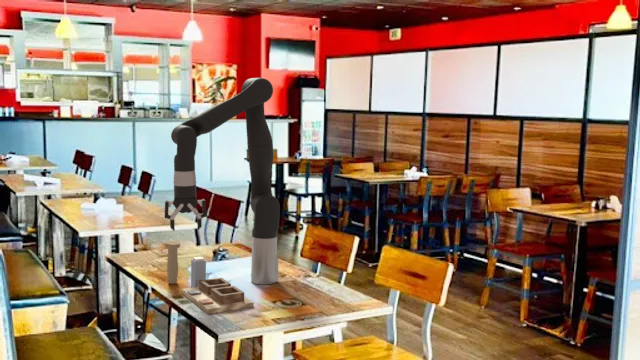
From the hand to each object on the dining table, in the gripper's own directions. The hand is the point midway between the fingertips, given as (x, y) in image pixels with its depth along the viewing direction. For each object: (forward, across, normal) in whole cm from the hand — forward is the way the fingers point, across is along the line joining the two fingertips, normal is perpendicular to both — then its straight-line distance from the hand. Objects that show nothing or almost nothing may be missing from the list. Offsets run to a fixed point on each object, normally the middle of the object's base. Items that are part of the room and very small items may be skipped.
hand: (186, 229), depth 227 cm
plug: (+22, -4, -3) cm, 22 cm away
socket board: (+22, -10, +12) cm, 27 cm away
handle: (+22, +5, -9) cm, 24 cm away
